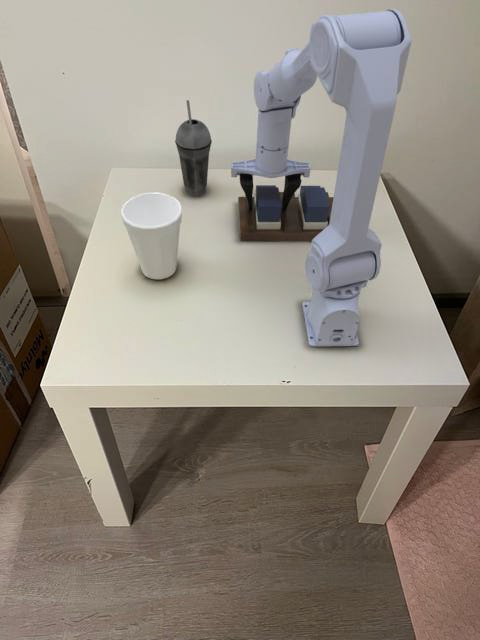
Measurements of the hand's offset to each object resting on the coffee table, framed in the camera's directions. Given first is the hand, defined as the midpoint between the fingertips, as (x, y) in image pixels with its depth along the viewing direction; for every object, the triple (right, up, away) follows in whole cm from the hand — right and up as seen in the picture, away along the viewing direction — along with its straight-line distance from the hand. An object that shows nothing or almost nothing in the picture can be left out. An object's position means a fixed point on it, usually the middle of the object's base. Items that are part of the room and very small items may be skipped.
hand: (267, 207), depth 96 cm
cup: (-20, -13, -7) cm, 25 cm away
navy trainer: (0, -1, +1) cm, 2 cm away
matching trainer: (+9, -1, +2) cm, 9 cm away
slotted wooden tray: (+4, -2, +3) cm, 6 cm away
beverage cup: (-15, +6, +10) cm, 19 cm away
